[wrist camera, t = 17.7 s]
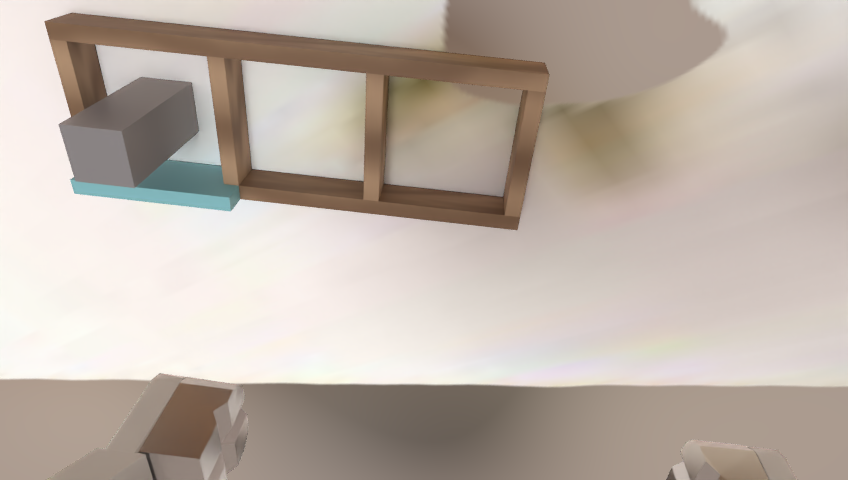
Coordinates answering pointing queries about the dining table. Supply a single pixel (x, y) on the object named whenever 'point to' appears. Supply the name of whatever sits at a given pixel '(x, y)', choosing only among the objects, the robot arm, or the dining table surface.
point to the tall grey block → (130, 132)
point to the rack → (229, 47)
